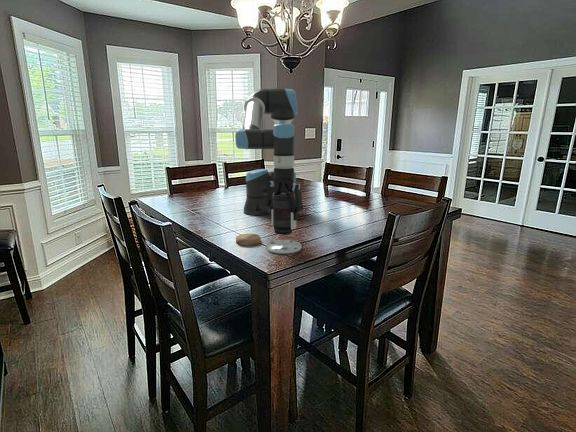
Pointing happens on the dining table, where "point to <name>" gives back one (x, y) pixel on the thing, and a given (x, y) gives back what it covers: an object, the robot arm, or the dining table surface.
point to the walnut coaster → (248, 239)
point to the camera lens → (282, 214)
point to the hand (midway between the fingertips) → (283, 226)
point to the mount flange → (283, 247)
